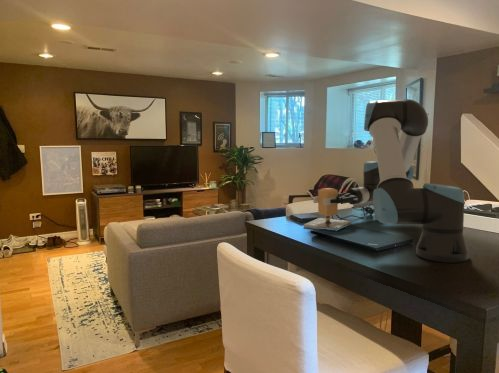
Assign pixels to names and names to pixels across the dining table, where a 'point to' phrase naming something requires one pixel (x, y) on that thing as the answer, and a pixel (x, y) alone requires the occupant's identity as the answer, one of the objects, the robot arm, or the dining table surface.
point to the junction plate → (326, 223)
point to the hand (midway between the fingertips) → (318, 201)
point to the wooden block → (331, 208)
